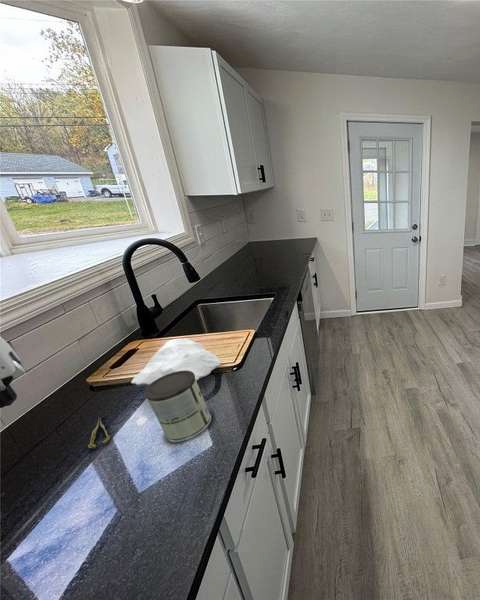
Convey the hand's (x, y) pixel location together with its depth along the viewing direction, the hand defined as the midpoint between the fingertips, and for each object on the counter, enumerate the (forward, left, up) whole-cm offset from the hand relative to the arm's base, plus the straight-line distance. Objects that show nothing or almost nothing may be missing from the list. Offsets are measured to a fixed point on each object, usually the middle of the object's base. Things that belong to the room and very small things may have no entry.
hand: (8, 403), depth 71 cm
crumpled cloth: (+28, +18, -16) cm, 36 cm away
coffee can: (+32, -11, -16) cm, 37 cm away
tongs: (+11, 0, -16) cm, 19 cm away
